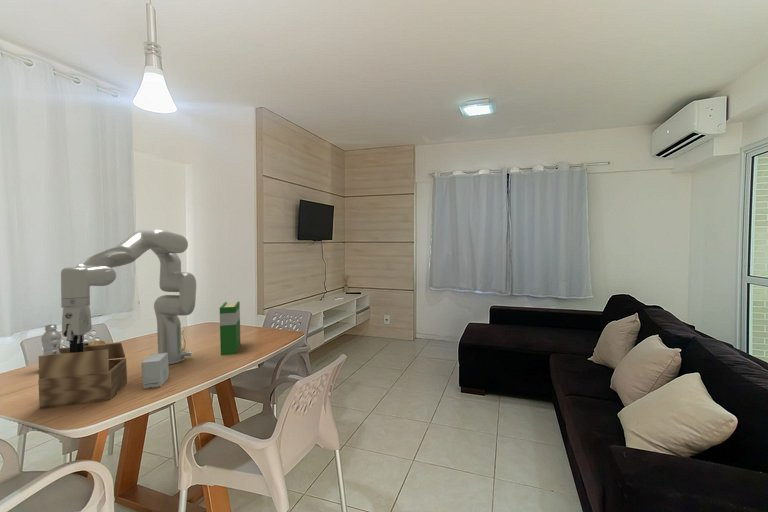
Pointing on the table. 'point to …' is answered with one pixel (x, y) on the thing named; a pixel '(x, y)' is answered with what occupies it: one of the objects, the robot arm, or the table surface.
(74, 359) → the left flap
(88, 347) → the right flap
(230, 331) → the hardback book
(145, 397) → the table surface
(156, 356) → the skincare box
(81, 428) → the table surface
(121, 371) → the carton
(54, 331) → the plastic bottle
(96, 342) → the bread roll
